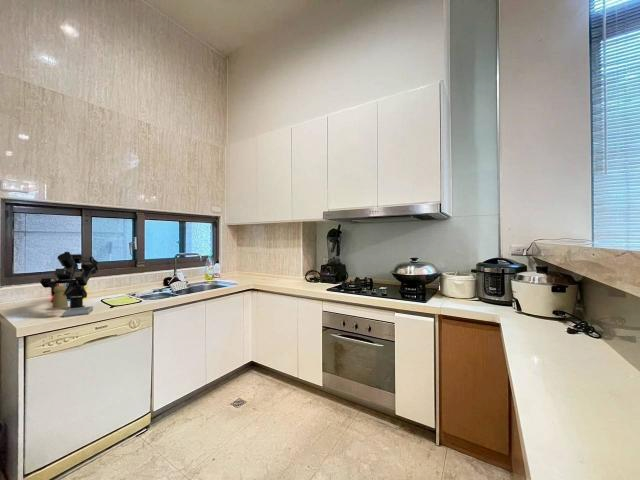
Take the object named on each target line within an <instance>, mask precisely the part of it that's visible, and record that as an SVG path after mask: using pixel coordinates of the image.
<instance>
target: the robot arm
mask: <svg viewBox="0 0 640 480" xmlns="http://www.w3.org/2000/svg"><path fill="white" fill-rule="evenodd" d="M57 260H58V262H59V263H60V265H61V267H63V268H55V270H54V276H56V279H55V278H52V277H43V278H40V280H39V283H40V284H41V286H42V288H50V289H51V290H50V291H51V296H54V295H55V292H54V291H53V289H54V287H57V286H58V285H64V284H68V285H67V286H66V287H67V289H66V291H65V295H66V298H67V300H69V308H68V309H71V308H81V307H85V305H84V299H86V298H87V297H88V293H87V290H86V289H85V286H87V285H88V281H89V280H90V279H91V277H92V275H94V274H97V273H99V271H100V269H101V265H100V263H99V261H98V260H96V259H94V256H91V255H85V256H84V254H81V253H79V254H78V253H77V254H76V253H72V254H71V252H70V251H64V253H60V254H58V255H57ZM78 264H79V265H81V269H82V273H81V274H80V276H76V273H77V271H78V270H79V265H78Z"/></svg>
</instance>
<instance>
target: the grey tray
mask: <svg viewBox="0 0 640 480" xmlns="http://www.w3.org/2000/svg"><path fill="white" fill-rule="evenodd" d="M93 310H94V306H84V307H81V308H71V309H69V308H68V309H67V310H65V311H63V312H62V318H68V317H78V316H79V317H80V316H88V315H90V314H91V312H93Z"/></svg>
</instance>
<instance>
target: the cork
mask: <svg viewBox="0 0 640 480" xmlns="http://www.w3.org/2000/svg"><path fill="white" fill-rule="evenodd" d="M67 287H68V286H66V285H57V287H54V289H53V291H54V292H55V294H54V295H53V296H54V297H53V302H52V308H64V307H68V304H69V303H68V299H67V298H66V295H65V291H66V289H67Z"/></svg>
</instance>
